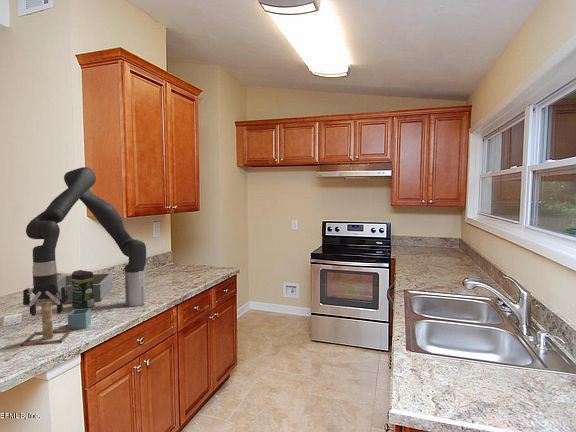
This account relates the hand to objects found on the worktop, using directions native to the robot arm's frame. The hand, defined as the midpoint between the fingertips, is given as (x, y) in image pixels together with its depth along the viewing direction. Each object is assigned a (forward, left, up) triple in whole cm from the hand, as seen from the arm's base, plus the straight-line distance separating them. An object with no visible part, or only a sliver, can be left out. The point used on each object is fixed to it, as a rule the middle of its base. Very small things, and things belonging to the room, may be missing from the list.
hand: (46, 314), depth 131 cm
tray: (0, 0, -10) cm, 10 cm away
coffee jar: (-1, -38, -10) cm, 40 cm away
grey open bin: (+6, -60, -10) cm, 61 cm away
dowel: (0, 0, -10) cm, 10 cm away
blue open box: (-8, -10, -10) cm, 17 cm away
